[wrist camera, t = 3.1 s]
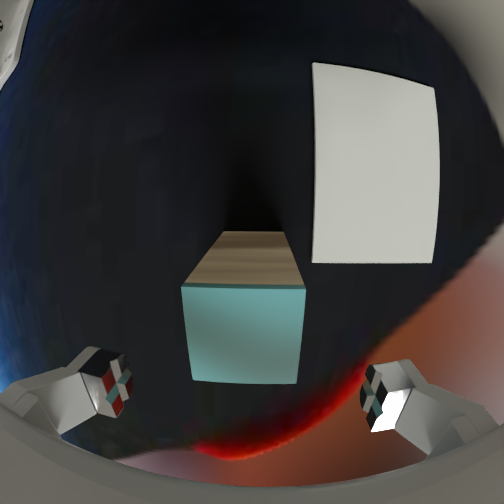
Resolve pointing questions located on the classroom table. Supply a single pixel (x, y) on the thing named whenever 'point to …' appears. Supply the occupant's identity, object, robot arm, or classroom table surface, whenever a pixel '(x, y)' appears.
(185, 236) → the classroom table surface
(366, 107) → the grey mat
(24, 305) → the classroom table surface
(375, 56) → the classroom table surface
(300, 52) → the classroom table surface
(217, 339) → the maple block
